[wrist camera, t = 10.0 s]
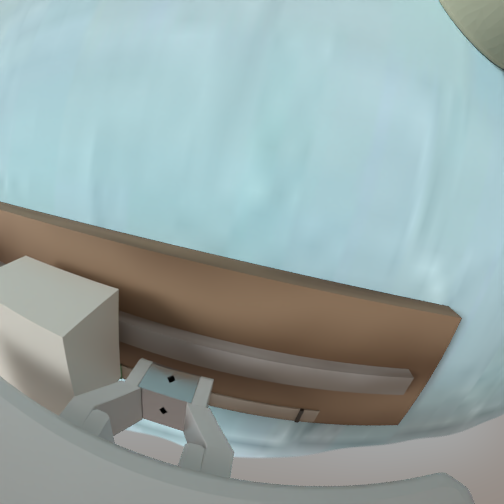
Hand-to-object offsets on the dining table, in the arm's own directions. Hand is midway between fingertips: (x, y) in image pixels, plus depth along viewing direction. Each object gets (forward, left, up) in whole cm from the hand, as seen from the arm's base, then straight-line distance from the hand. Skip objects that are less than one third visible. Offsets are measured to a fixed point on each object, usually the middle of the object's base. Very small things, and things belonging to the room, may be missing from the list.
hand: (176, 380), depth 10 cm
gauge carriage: (+1, -7, -2) cm, 7 cm away
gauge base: (0, -5, -4) cm, 6 cm away
